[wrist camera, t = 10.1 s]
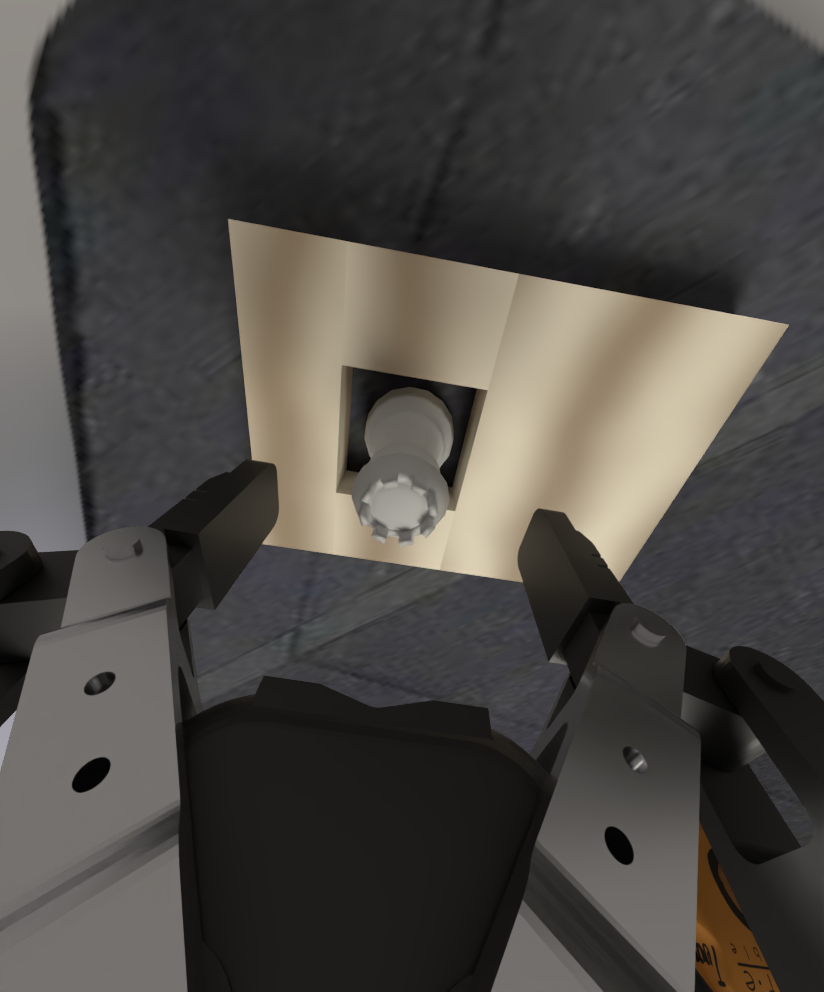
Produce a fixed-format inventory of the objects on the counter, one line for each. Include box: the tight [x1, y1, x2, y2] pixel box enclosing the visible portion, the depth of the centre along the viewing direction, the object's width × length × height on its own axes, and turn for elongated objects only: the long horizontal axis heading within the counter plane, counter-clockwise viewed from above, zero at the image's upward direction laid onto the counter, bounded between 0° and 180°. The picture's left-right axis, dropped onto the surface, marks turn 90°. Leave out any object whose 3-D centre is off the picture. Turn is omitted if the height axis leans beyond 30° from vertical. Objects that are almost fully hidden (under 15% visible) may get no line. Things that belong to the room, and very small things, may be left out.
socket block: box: [228, 219, 789, 582], centre depth 16 cm, size 20×14×2 cm
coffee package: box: [695, 822, 780, 992], centre depth 29 cm, size 10×12×22 cm
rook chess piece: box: [352, 387, 454, 547], centre depth 14 cm, size 4×4×8 cm
